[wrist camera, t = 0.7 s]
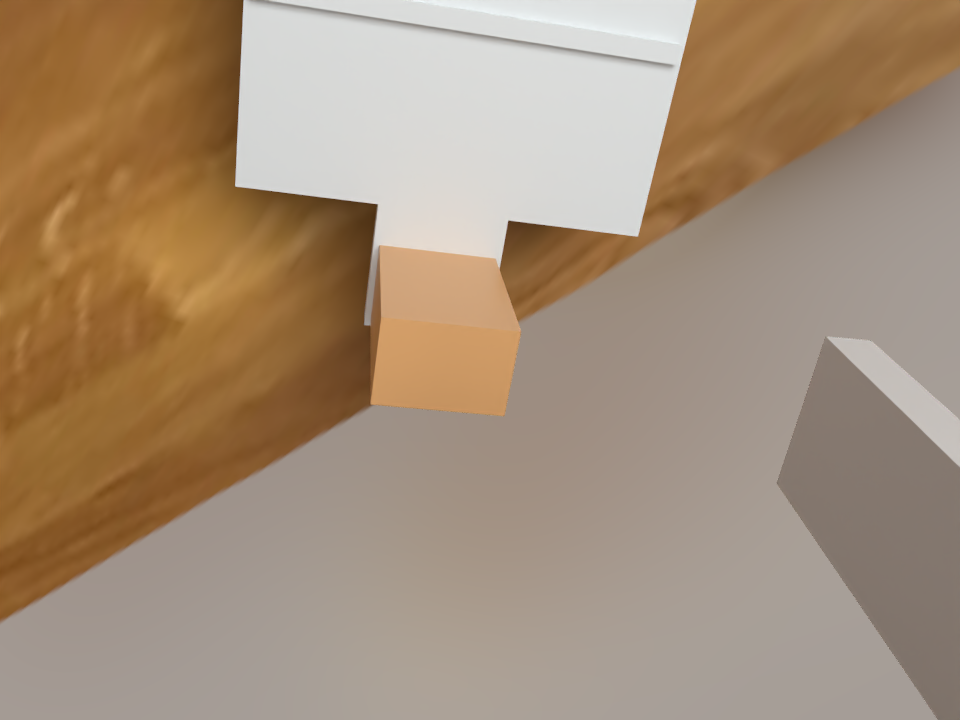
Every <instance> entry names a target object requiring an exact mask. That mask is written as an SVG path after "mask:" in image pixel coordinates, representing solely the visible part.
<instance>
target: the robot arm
mask: <svg viewBox="0 0 960 720" xmlns="http://www.w3.org/2000/svg"><path fill="white" fill-rule="evenodd" d="M777 484H778V486H779V488H780V489H781V490H782V492H783V493H784V495H785V496H786V498H787V499H788V501H789V502H790V504H791V505H792V507H793V508H794V509H795V511H796V512H797V514H798V515H799V517H800V518H801V520H802V521H803V523H804V524H805V526H806V527H807V529H808V530H809V531H810V533H811V534H812V536H813V537H814V539H815V540H816V542H817V543H818V545H819V546H820V548H821V549H822V551H823V552H824V553H825V555H826V556H827V558H828V559H829V561H830V562H831V564H832V565H833V567H834V568H835V569H836V571H837V572H838V574H839V575H840V577H841V578H842V580H843V581H844V583H845V584H846V586H847V587H848V589H849V590H850V591H851V593H852V594H853V596H854V597H855V598H856V600H857V602H858V603H859V605H860V606H861V608H862V609H863V611H864V612H865V613H866V615H867V616H868V618H869V619H870V621H871V622H872V624H873V625H874V627H875V628H876V630H877V631H878V632H879V634H880V635H881V637H882V638H883V640H884V641H885V643H886V644H887V646H888V647H889V649H890V650H891V652H892V653H893V654H894V656H895V657H896V659H897V660H898V662H899V663H900V665H901V666H902V668H903V669H904V671H905V672H906V674H907V675H908V677H909V678H910V679H911V681H912V682H913V684H914V685H915V687H916V688H917V690H918V691H919V692H920V694H921V695H922V697H923V698H924V700H925V701H926V703H927V704H928V706H929V707H930V709H931V710H932V712H933V713H934V715H935V716H936V718H937V719H938V720H960V420H959V419H958V418H957V417H956V416H955V415H954V414H953V413H951V412H950V411H949V410H948V409H947V408H946V407H945V406H943V404H941V403H940V402H939V401H938V400H937V399H936V398H934V397H933V396H932V395H931V394H930V393H929V392H928V391H927V390H926V389H925V388H923V387H922V386H921V385H920V384H919V383H918V382H917V381H916V380H915V379H913V378H912V377H911V376H910V375H909V374H908V373H907V372H905V371H904V370H903V369H902V368H901V367H900V366H899V365H898V364H897V363H896V362H894V361H893V360H892V359H891V358H890V357H889V356H888V355H886V354H885V353H884V352H883V351H882V350H881V349H880V348H879V347H877V346H876V345H875V344H874V343H873V342H872V341H871V340H860V339H849V338H838V337H825V340H824V343H823V346H822V349H821V352H820V355H819V358H818V361H817V364H816V367H815V370H814V373H813V376H812V379H811V382H810V385H809V388H808V391H807V394H806V397H805V400H804V403H803V406H802V409H801V412H800V415H799V418H798V421H797V424H796V427H795V430H794V433H793V436H792V439H791V442H790V445H789V448H788V451H787V454H786V457H785V460H784V463H783V466H782V469H781V472H780V475H779V478H778V481H777Z"/></svg>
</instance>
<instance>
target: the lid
mask: <svg viewBox="0 0 960 720" xmlns="http://www.w3.org/2000/svg"><path fill="white" fill-rule="evenodd" d="M695 3H696V0H244V3H243V25H242V47H241V69H240V92H239V114H238V136H237V158H236V180H235V187H243V188H251V189H259V190H268V191H276V192H284V193H292V194H300V195H308V196H316V197H324V198H332V199H340V200H348V201H356V202H364V203H372V204H377V208H376V217H375V226H374V234H373V243H372V252H371V260H370V269H369V278H368V286H367V295H366V304H365V312H364V325H370V326H371V362H370V405H382V406H394V407H405V408H417V409H428V410H439V411H451V412H462V413H473V414H485V415H497V416H504V415H505V411H506V406H507V400H508V396H509V390H510V386H511V380H512V375H513V370H514V365H515V360H516V355H517V350H518V345H519V340H520V335H521V330H520V327H519V324H518V321H517V318H516V316H515V313H514V310H513V307H512V304H511V301H510V298H509V295H508V293H507V290H506V287H505V284H504V281H503V278H502V275H501V273H500V270H499V269H500V263H501V258H502V252H503V247H504V241H505V236H506V230H507V225H508V220H509V221H517V222H525V223H533V224H541V225H549V226H557V227H565V228H573V229H581V230H589V231H597V232H605V233H613V234H621V235H629V236H637V237H638V234H639V230H640V226H641V222H642V218H643V214H644V210H645V206H646V202H647V197H648V193H649V189H650V185H651V181H652V177H653V173H654V169H655V165H656V161H657V157H658V153H659V149H660V145H661V141H662V137H663V133H664V129H665V125H666V121H667V117H668V113H669V108H670V104H671V100H672V96H673V92H674V88H675V84H676V80H677V76H678V72H679V68H680V64H681V60H682V56H683V52H684V48H685V44H686V40H687V36H688V32H689V28H690V24H691V19H692V15H693V11H694V7H695Z"/></svg>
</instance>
